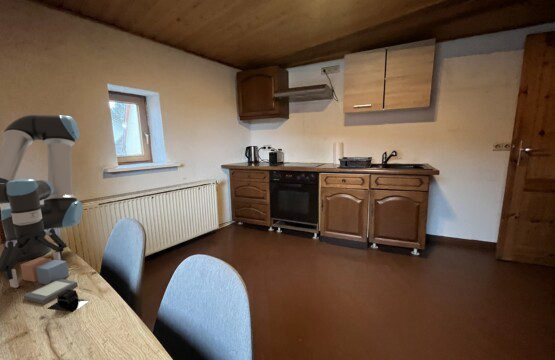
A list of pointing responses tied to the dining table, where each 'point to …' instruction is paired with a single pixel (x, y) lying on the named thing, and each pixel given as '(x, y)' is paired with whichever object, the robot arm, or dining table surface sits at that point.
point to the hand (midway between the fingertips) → (38, 276)
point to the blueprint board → (49, 291)
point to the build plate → (68, 301)
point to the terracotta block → (32, 268)
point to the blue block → (52, 271)
